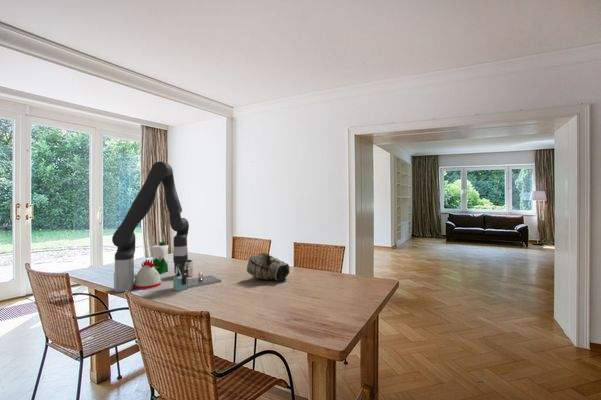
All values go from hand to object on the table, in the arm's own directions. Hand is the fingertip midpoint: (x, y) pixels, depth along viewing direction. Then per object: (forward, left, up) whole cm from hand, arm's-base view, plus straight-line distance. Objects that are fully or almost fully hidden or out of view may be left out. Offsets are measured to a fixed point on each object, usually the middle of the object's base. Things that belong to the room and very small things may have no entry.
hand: (181, 283), depth 174 cm
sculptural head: (+49, -13, -4) cm, 51 cm away
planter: (+11, +27, -4) cm, 30 cm away
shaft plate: (+13, +6, -3) cm, 15 cm away
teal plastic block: (-1, 0, -3) cm, 3 cm away
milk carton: (+2, +47, -3) cm, 47 cm away
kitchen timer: (-13, +19, -4) cm, 23 cm away
